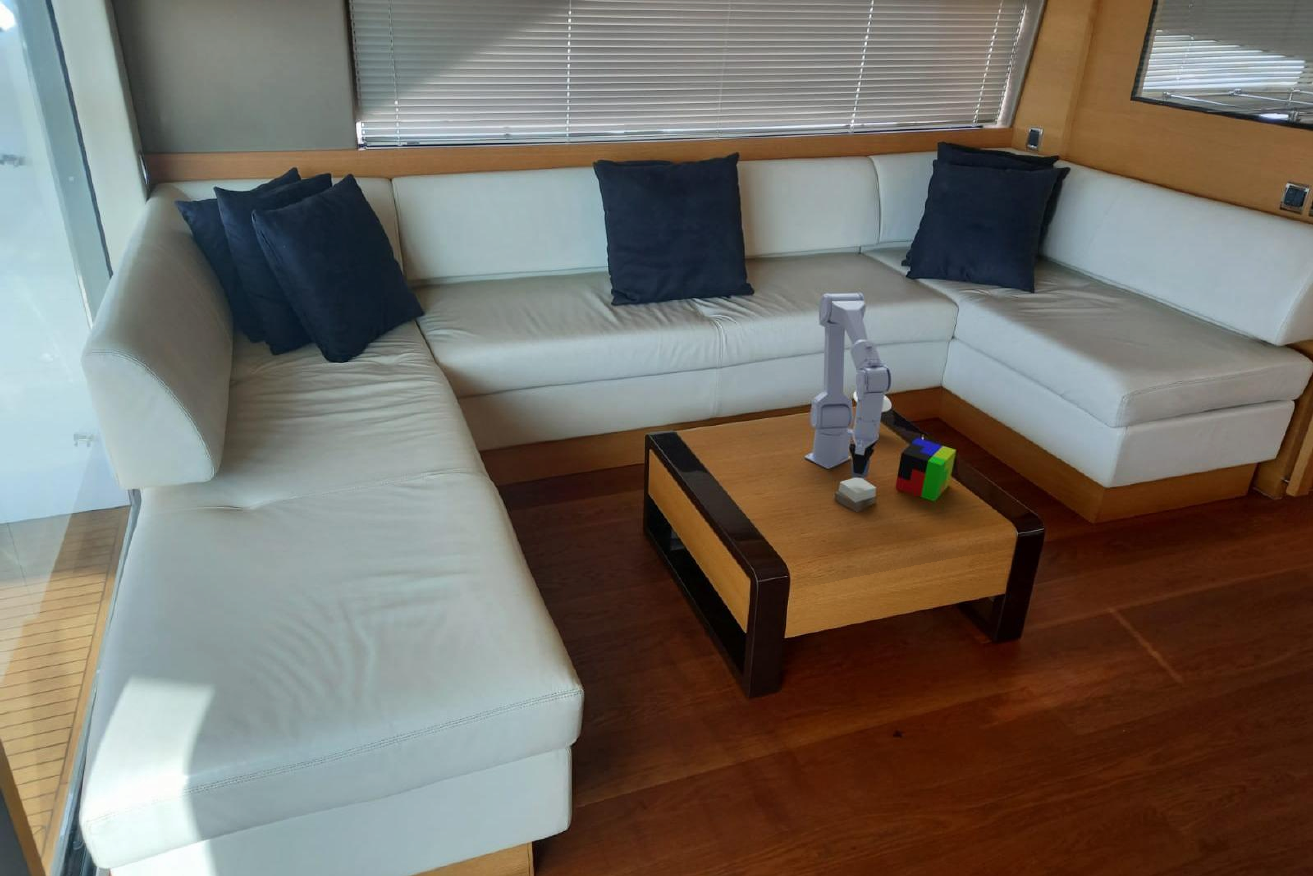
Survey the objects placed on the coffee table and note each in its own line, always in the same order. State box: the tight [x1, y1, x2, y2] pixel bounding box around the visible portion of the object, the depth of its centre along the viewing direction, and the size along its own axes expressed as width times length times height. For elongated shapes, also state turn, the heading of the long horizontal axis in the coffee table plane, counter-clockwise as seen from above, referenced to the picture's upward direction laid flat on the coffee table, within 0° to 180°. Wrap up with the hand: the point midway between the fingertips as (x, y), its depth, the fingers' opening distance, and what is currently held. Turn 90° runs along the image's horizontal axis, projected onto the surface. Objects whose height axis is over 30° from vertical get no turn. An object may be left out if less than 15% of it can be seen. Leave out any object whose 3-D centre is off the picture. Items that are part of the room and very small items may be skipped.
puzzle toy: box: [894, 438, 957, 502], centre depth 229 cm, size 10×10×10 cm
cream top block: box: [838, 477, 877, 503], centre depth 222 cm, size 6×6×2 cm
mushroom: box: [852, 390, 892, 413], centre depth 256 cm, size 10×11×12 cm
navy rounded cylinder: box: [850, 458, 871, 479], centre depth 219 cm, size 4×4×4 cm
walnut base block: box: [833, 490, 878, 513], centre depth 223 cm, size 7×7×2 cm
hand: (860, 468), depth 219 cm, fingers closed on navy rounded cylinder, 4 cm apart
